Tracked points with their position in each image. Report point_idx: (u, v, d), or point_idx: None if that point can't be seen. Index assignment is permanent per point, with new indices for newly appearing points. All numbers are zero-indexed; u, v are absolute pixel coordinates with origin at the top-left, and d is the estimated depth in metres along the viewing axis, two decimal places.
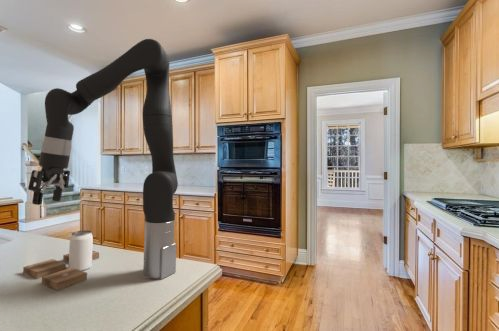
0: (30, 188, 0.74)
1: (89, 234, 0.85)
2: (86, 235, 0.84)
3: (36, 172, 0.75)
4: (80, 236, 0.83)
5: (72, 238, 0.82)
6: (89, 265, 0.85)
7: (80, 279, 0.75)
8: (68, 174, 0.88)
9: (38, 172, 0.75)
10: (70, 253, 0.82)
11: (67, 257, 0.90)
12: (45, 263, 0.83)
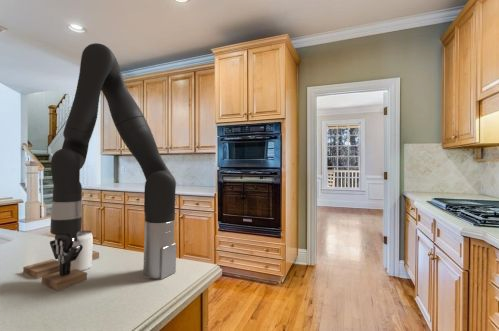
0: (69, 260, 0.73)
1: (89, 234, 0.85)
2: (86, 235, 0.84)
3: (78, 249, 0.73)
4: (80, 236, 0.83)
5: None
6: (89, 265, 0.85)
7: (80, 279, 0.75)
8: None
9: (79, 247, 0.73)
10: None
11: None
12: (45, 263, 0.83)
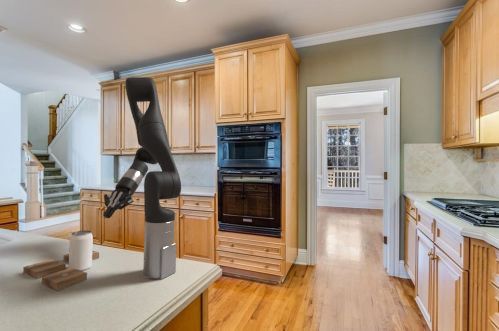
0: None
1: (89, 234, 0.85)
2: (86, 235, 0.84)
3: None
4: (80, 236, 0.83)
5: (72, 238, 0.82)
6: (89, 265, 0.85)
7: (80, 279, 0.75)
8: (127, 198, 0.99)
9: None
10: (70, 253, 0.82)
11: (67, 257, 0.90)
12: (45, 263, 0.83)
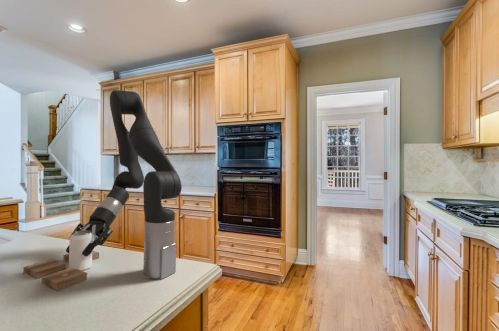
0: None
1: (89, 234, 0.85)
2: (86, 235, 0.84)
3: None
4: (80, 236, 0.83)
5: (72, 238, 0.82)
6: (89, 265, 0.85)
7: (80, 279, 0.75)
8: (105, 229, 0.87)
9: None
10: (70, 253, 0.82)
11: (67, 257, 0.90)
12: (45, 263, 0.83)
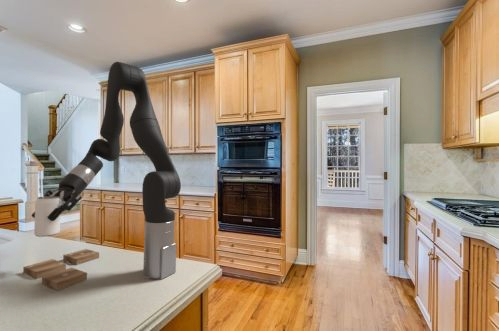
0: None
1: (56, 199, 0.82)
2: (52, 199, 0.81)
3: None
4: (46, 200, 0.80)
5: (37, 202, 0.80)
6: (56, 231, 0.82)
7: (80, 279, 0.75)
8: (74, 195, 0.84)
9: None
10: (35, 217, 0.80)
11: (67, 257, 0.90)
12: (45, 263, 0.83)
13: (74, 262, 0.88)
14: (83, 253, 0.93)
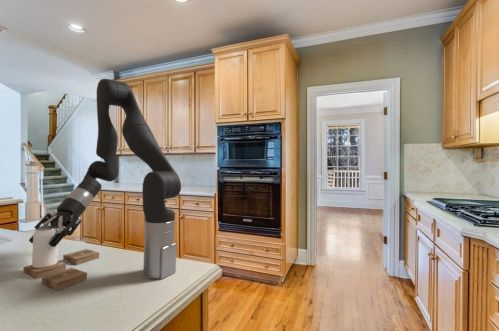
0: None
1: (54, 229, 0.82)
2: (50, 230, 0.81)
3: None
4: (44, 231, 0.80)
5: (35, 233, 0.79)
6: (54, 262, 0.82)
7: (80, 279, 0.75)
8: (73, 219, 0.84)
9: None
10: (33, 249, 0.79)
11: (67, 257, 0.90)
12: None
13: (74, 262, 0.88)
14: (83, 253, 0.93)
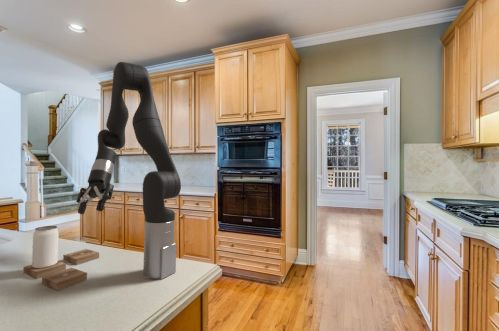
0: None
1: (54, 229, 0.82)
2: (50, 230, 0.81)
3: None
4: (43, 231, 0.80)
5: (35, 233, 0.79)
6: (54, 261, 0.82)
7: (80, 279, 0.75)
8: (107, 185, 0.95)
9: None
10: (33, 249, 0.79)
11: (67, 257, 0.90)
12: None
13: (74, 262, 0.88)
14: (83, 253, 0.93)
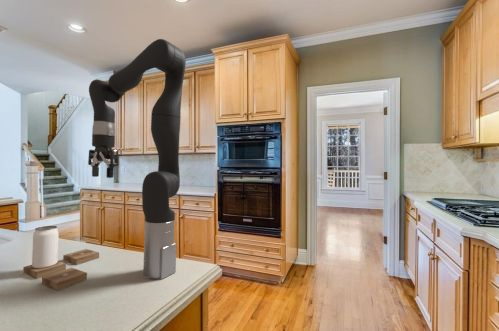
0: None
1: (54, 229, 0.82)
2: (50, 230, 0.81)
3: None
4: (43, 231, 0.80)
5: (35, 233, 0.79)
6: (54, 262, 0.82)
7: (80, 279, 0.75)
8: (111, 153, 0.93)
9: None
10: (33, 249, 0.79)
11: (67, 257, 0.90)
12: None
13: (74, 262, 0.88)
14: (83, 253, 0.93)
